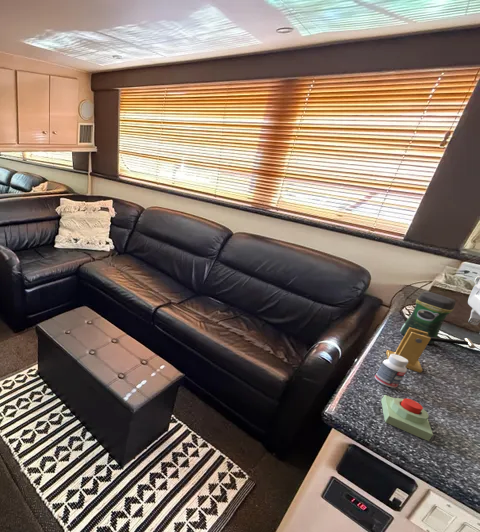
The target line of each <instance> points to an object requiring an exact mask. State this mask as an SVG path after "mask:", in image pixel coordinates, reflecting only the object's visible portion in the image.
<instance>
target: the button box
mask: <svg viewBox="0 0 480 532" xmlns="http://www.w3.org/2000/svg"><path fill="white" fill-rule="evenodd" d="M403 399H404V398H401V397H392V396H389V395H386V394H384V395H383V396H382V398H381V400H380V402H381V408H382V412H383V413H382V414H383V419H384V423H385V424H388V425H390V426H393V427H395V428H397V429H400V430H401V431H404V432H406V433H408V434H410V435H413V436H415V437H417V438H420V439H422V440H425V441H427V442H429V441H430V440H431V438H432V437H433V436H434V432H433V431H432V427H431V424H430V422H429V418H430V417H429V414H428V412H427V411H426V410H425V409H424V408H423V409H422V411H421V412H420V414H414V413H412V412H409V411H408V410H406V409H404V408H403V407H402V406H401V405H400V404H401V402H402V401H403Z"/></svg>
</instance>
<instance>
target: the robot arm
mask: <svg viewBox="0 0 480 532" xmlns="http://www.w3.org/2000/svg"><path fill="white" fill-rule="evenodd" d="M473 282H474V285H473V288H472V290H471V292H470V294H469V296H468V298H467V299H468V300H467V304H468V305H469V307H470V308H471V310H470V316H469V319H468V323H469V324H470V325H472V326H479V324H480V275H478V276H476V277H475V279H474V281H473ZM478 334H479V335H480V331H478Z"/></svg>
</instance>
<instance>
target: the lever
mask: <svg viewBox="0 0 480 532" xmlns="http://www.w3.org/2000/svg"><path fill="white" fill-rule="evenodd" d="M414 333H416V332H414ZM417 334H421V335H424V334H423V333H417ZM427 337H428V336H427ZM430 338H431V339H430V341H435V342H436V343H437V342H438V343H446V344H455V345H463V346H468V348H469V349H472V350H473V349H475V348H476V345H475V344H474V343H473V341H472V340H471V339H470V338H468V337H465V338H464V339H454V338H446V337H445V338H444V337H438V336H437V337H430Z"/></svg>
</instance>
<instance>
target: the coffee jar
mask: <svg viewBox="0 0 480 532" xmlns="http://www.w3.org/2000/svg"><path fill="white" fill-rule="evenodd" d="M456 302H457V301H456V299H454V298H451V297H447V296H444V295H441V294H439V293H434V292H431V291H428V290H427V291H422V292H421V293H420V294H419V296H418V297H417V298H416V300H415V305H414V308H413V310H412V312H411V313H410V315H409V317H407V319H406V320H405V322H404V323H403V324H402V326H401V328H400V330H399V332H400V333H401V334H402V335H403V336H405V334H406V332H407V330H408V329H409V327H411V328H414V329H418V330H421V331H424V332H428V335H427V336H428V337H437V338H438V336H439V333H440V330H441V328H442V326H443V324H444V322H445V319H446V317H447V316H448V315H449V314H451V313H452V312H453V311H454V309H455V306H456ZM435 342H436V341H429V343H428V344H430V345H432V344H434V343H435ZM428 344H427V345H428Z"/></svg>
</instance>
